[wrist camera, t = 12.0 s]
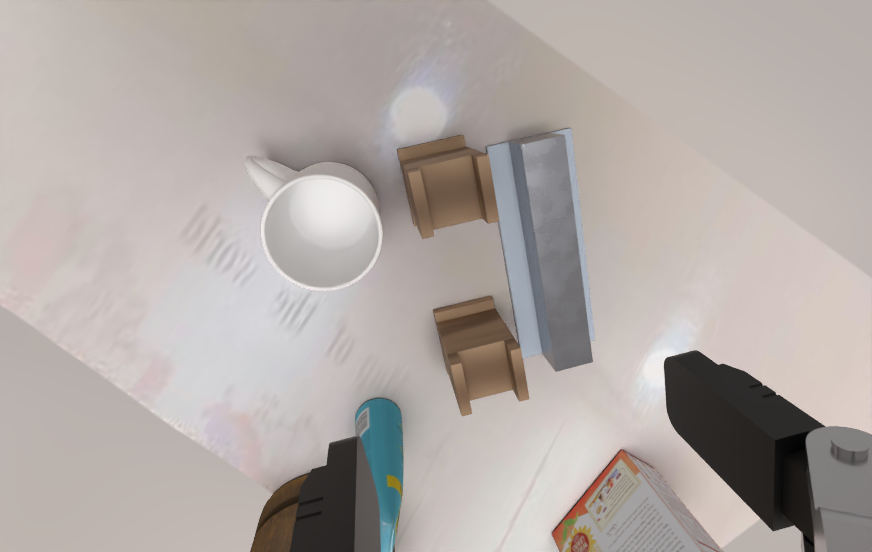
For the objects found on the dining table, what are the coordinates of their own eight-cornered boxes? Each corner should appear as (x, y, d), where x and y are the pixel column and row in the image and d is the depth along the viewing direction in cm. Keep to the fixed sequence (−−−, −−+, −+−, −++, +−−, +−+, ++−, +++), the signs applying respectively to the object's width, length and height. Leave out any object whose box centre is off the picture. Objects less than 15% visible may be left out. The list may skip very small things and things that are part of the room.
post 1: (396, 149, 45) (404, 159, 36) (461, 134, 46) (486, 140, 36) (413, 223, 48) (425, 251, 38) (475, 209, 48) (501, 233, 39)
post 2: (433, 309, 51) (448, 355, 41) (490, 295, 51) (519, 337, 42) (446, 370, 53) (464, 425, 44) (501, 356, 53) (530, 408, 44)
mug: (292, 112, 43) (269, 112, 33) (398, 203, 47) (407, 228, 37) (231, 188, 45) (192, 211, 35) (339, 271, 48) (332, 313, 38)
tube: (400, 445, 55) (416, 609, 37) (355, 447, 54) (349, 614, 36) (402, 385, 53) (421, 527, 35) (355, 386, 52) (349, 532, 34)
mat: (485, 146, 46) (487, 147, 46) (568, 128, 47) (571, 128, 46) (520, 355, 54) (522, 358, 53) (592, 337, 54) (594, 340, 54)
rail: (508, 142, 46) (521, 144, 42) (548, 132, 46) (564, 134, 42) (542, 353, 53) (555, 371, 49) (576, 344, 53) (592, 362, 50)
